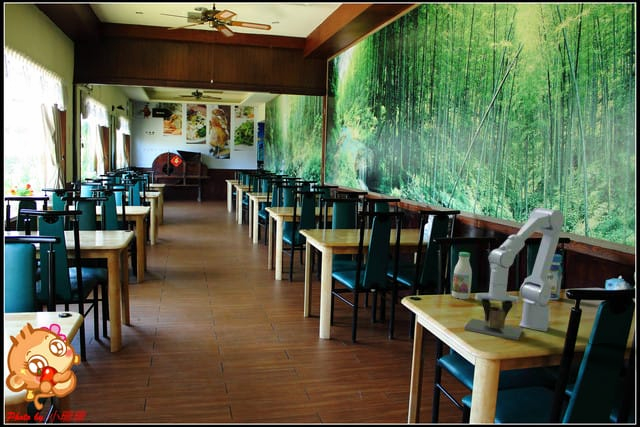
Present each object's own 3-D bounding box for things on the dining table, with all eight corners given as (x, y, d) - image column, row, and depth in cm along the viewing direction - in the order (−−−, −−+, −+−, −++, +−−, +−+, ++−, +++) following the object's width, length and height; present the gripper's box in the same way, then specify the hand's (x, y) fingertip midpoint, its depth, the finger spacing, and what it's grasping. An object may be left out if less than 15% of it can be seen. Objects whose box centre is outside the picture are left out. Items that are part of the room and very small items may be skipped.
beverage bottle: (563, 300, 240) (568, 256, 238) (547, 300, 238) (552, 256, 236) (551, 295, 248) (556, 253, 246) (535, 295, 246) (540, 252, 244)
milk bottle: (456, 294, 238) (460, 250, 236) (472, 297, 233) (476, 253, 231) (448, 296, 232) (452, 252, 230) (465, 300, 227) (469, 255, 225)
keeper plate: (522, 331, 189) (524, 317, 188) (518, 340, 178) (519, 326, 178) (471, 321, 197) (472, 308, 197) (464, 329, 187) (465, 316, 186)
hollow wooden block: (498, 322, 191) (500, 306, 190) (504, 328, 184) (505, 312, 184) (484, 321, 191) (486, 305, 191) (489, 327, 184) (491, 310, 184)
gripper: (516, 282, 190) (512, 319, 191) (475, 279, 190) (471, 315, 192) (522, 286, 183) (518, 325, 184) (479, 283, 183) (475, 321, 185)
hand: (494, 320), depth 187 cm, fingers closed on hollow wooden block, 5 cm apart
